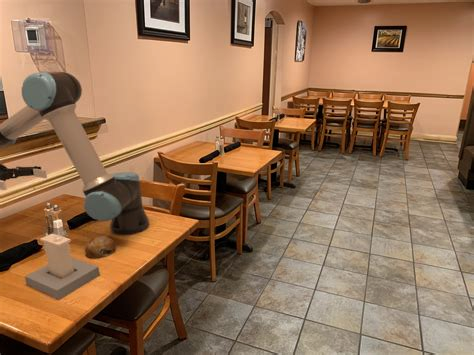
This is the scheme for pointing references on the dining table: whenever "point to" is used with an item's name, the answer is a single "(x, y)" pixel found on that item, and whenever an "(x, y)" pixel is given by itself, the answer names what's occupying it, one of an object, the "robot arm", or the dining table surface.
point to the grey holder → (62, 286)
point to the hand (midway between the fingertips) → (25, 179)
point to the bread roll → (99, 246)
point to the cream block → (58, 255)
